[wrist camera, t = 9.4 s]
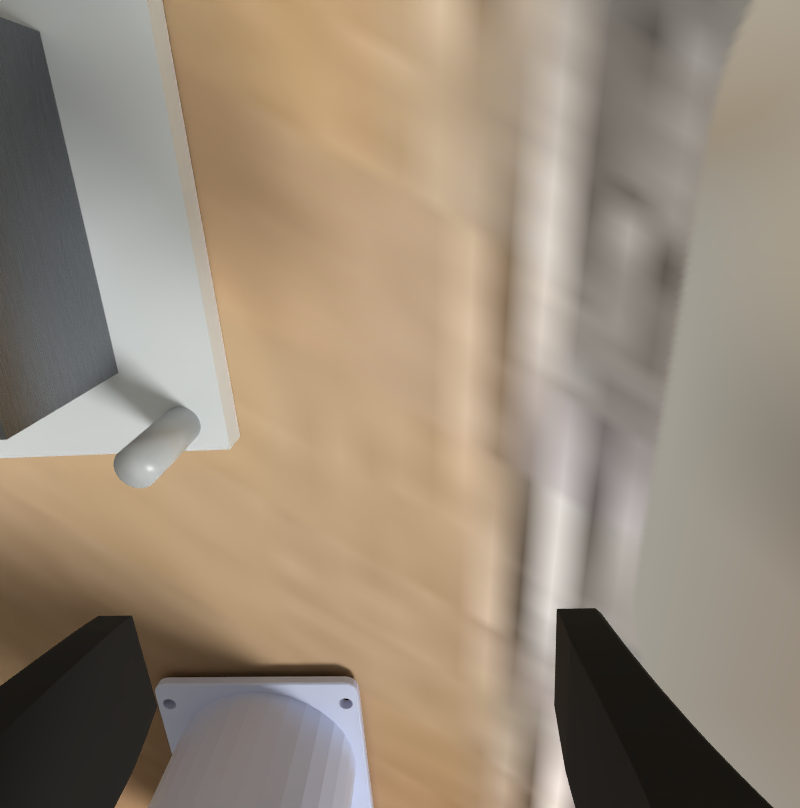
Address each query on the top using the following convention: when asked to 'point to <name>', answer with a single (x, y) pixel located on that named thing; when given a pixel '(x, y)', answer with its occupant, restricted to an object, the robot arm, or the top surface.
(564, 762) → the robot arm
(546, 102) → the top surface
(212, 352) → the tray
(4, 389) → the block
